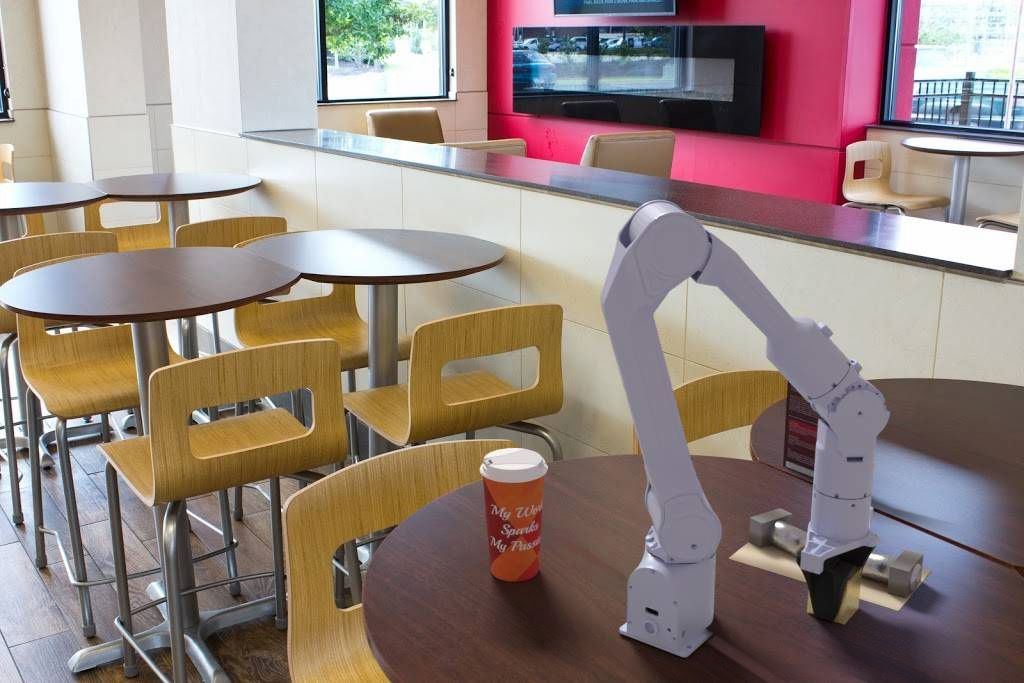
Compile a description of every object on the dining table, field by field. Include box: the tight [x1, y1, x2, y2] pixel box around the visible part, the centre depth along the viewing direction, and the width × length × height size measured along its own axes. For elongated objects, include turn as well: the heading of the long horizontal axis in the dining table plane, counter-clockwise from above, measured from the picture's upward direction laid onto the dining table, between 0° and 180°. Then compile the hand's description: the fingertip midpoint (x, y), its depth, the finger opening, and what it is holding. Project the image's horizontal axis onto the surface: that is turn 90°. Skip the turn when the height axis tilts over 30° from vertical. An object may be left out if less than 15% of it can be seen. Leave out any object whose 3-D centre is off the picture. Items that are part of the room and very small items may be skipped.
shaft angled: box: [768, 520, 808, 556], centre depth 121 cm, size 6×3×3 cm, turn 31°
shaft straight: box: [861, 550, 921, 592], centre depth 113 cm, size 6×3×3 cm, turn 51°
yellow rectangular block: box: [806, 561, 862, 625], centre depth 107 cm, size 4×4×6 cm
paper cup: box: [479, 447, 549, 583], centre depth 117 cm, size 8×8×14 cm
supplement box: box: [782, 380, 825, 479], centre depth 142 cm, size 9×5×16 cm, turn 34°
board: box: [727, 507, 932, 612], centre depth 117 cm, size 11×20×4 cm, turn 51°
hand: (832, 608), depth 107 cm, fingers closed on yellow rectangular block, 4 cm apart
